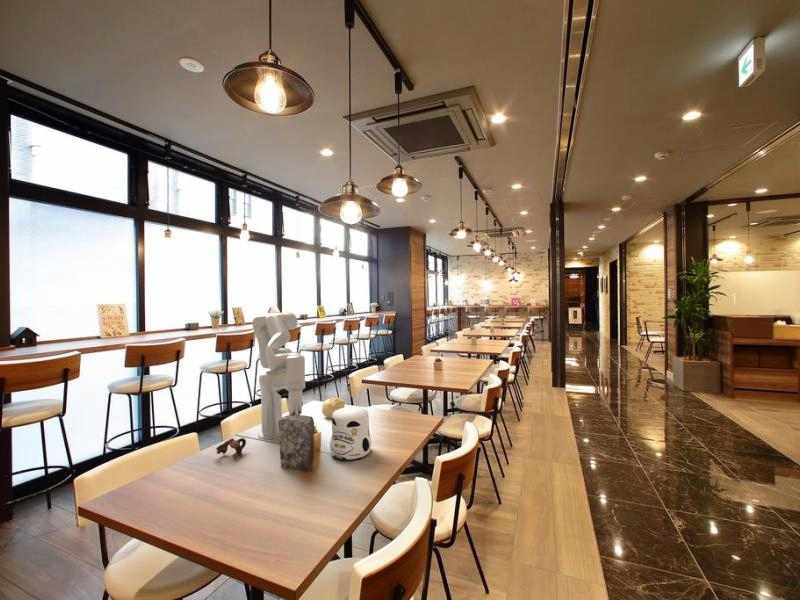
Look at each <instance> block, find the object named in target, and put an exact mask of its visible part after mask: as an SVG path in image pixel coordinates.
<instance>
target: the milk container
mask: <svg viewBox="0 0 800 600" xmlns="http://www.w3.org/2000/svg"><path fill="white" fill-rule="evenodd" d="M369 419H370V417H369V411H368V409H366V408H363V407H357V406H353V407H351V406H347V407H344V408H342V409H338V410H336V411H334V412H333V415H332V418H331V422H332V423H331V437H330V443H329V449H330V453H331V455H332V456H333V457H334V458H335V459H337V460H340V461H347V462H348V461H349V462H350V461H351V462H352V461H357V460H360V459H363V458H364V457H366V456H368V455H369V453H370V452H371V449H372V438H371V436H370V420H369Z"/></svg>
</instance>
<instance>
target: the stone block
mask: <svg viewBox="0 0 800 600" xmlns="http://www.w3.org/2000/svg"><path fill="white" fill-rule="evenodd" d="M278 423H279V437H278V441H279V456H280V457H279V458H280V468H281V469H287V470H293V471H298V472H299V471H300V472H305V473H309V472H311V471H312V468H313V465H314V457H315V436H314V435H315V421H314V418H313V416H311V415H309V416H308V415H304V414H303V415H302V414H300V415H289V414H287V415H284V416H282V418H280V419H279V422H278Z"/></svg>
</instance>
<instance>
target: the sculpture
mask: <svg viewBox="0 0 800 600" xmlns="http://www.w3.org/2000/svg"><path fill="white" fill-rule="evenodd" d="M345 407H346V406H345V401H344V400H343V399H342V398H339V397H336V396H333V397H330V398H327V399H326V400H325V401H324V402H323V404H322V407H321V412H322V415H323V416H324V417H325V418H327V419H332V415H333V412H334V411H336V410H338V409H342V408H345Z"/></svg>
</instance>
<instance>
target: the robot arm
mask: <svg viewBox="0 0 800 600" xmlns="http://www.w3.org/2000/svg"><path fill="white" fill-rule="evenodd" d="M297 326H298V318H297V315H296V314H294V313H293V312H274V313H264V314H258V315H255V316H254V317H253V319H252V329H253V332H254V335H255V337H256V339H257V343H258V351H259V362H260V365H261V367H262V368H263V369H269V370H268V371H267V370H266V371H264V372H262V373H261V374H260V375H259V377H258V382H259V389H260V400H261V405H260V407H261V409H260V410H261V411H260V413H261V431H259V432H258V435H257V436H258V438H259V439H261V440H272V439H279V423H278V422H279V419H280V418H282V417H283V407H282V406H283V403H282V402H283V399H282V396H281V395H280V394H279V392H277V391H278V390H283V389H285V390H286V391H288V415H302V413H303V390H305V389H306V369H305V368H306V366H305V365H306V361H305V360H306V359H305V356H304V355H303V354H301V353H299V352H297V351H296V352H293V351H292V349H290V348H288V347H283V346H285V345H287V343H289V342H290V340H291V334H290V331H289V330H291V331H293V330H295V329H296V328H297ZM280 347H281V348H280Z"/></svg>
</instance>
